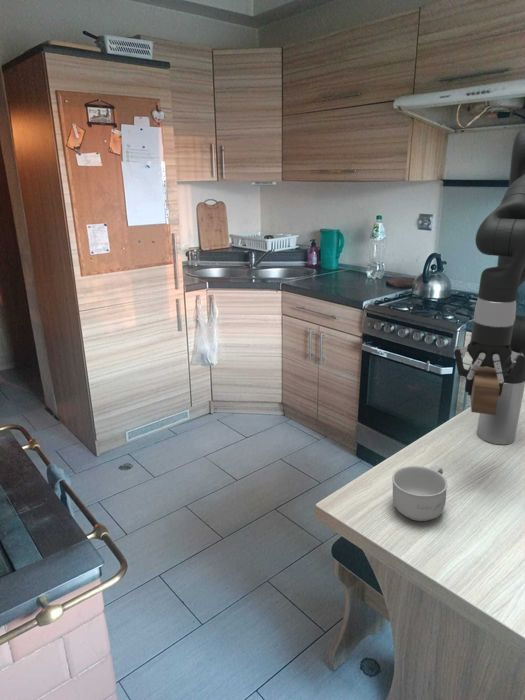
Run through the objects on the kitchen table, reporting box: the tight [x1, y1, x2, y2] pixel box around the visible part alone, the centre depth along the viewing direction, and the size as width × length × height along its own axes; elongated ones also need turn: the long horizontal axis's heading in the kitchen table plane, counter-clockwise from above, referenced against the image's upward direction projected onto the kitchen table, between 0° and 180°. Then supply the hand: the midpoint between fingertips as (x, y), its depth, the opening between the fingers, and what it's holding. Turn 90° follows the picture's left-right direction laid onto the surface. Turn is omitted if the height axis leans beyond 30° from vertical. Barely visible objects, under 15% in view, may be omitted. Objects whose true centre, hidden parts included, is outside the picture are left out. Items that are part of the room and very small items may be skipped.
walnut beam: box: [469, 366, 500, 415], centre depth 106 cm, size 14×4×6 cm, turn 160°
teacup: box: [391, 465, 449, 522], centre depth 103 cm, size 14×11×8 cm
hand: (482, 394), depth 106 cm, fingers closed on walnut beam, 4 cm apart
